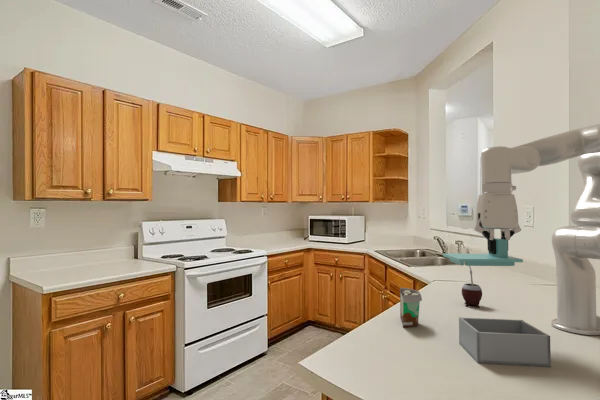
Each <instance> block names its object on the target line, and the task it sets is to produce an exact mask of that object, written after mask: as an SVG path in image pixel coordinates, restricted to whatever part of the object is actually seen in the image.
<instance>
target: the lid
mask: <svg viewBox="0 0 600 400" xmlns="http://www.w3.org/2000/svg"><path fill="white" fill-rule="evenodd" d="M494 240H496V254H490V253H489V252H488V253H443V254H442V257H445V258H447V259H448V260H449V262H451V263H454V264H456V265H460V266H464V264H465V266H467V267H469V266H470V267H515V265H516V264H515V263H524V259H523V258H518V257H513V256H511V255H510V256H509V252H508V251H509V240H506V239H501V238H500V237H499V238H497V237H494Z"/></svg>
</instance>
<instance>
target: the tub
mask: <svg viewBox="0 0 600 400" xmlns="http://www.w3.org/2000/svg"><path fill="white" fill-rule="evenodd" d="M458 333H459V334H458V335H459V336H458V339H459V342H458V344H459V345H460V346H461V347H462V348H463V349H464V351H465V352H467V354H469V356H470V357H472V359H474V361H475V362H476V363H477V364H492V365H505V366H509V365H510V366H523V367H524V366H526V367H527V366H528V367H546V368H551V367H552V366H551V365H552V363H551V362H552V360H551V359H552V358H551V357H552V356H551V355H552V354H551V336H550V335H549V334H548V333H545V332H544V331H542V330H540V329H538V328H536V327H535V326H534V325H532V324H530V323H528V322H526V321H524V320H522V319H510V318H509V319H506V318H505V319H504V318H503V319H502V318H481V317H478V318H477V317H460V316H459V317H458Z"/></svg>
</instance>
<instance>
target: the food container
mask: <svg viewBox="0 0 600 400" xmlns="http://www.w3.org/2000/svg"><path fill="white" fill-rule="evenodd" d="M422 297H423V296H422V294H421V292H420V290H419V291H418V290H416V289H413V288H408V287H400V288H399V298H400V300H399V302H400V305H399V308H400V309H399V310H400V311H399V313H400V314H399V315H400V316H399V319H400V322H401V326H402V328H404V329H405V328H406V329H407V328H408V329H410V328H412V329H413V328H416V327H418V326H419V319H420V318H419V316H420V302H421V301H422V300H423V298H422Z"/></svg>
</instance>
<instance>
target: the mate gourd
mask: <svg viewBox="0 0 600 400" xmlns="http://www.w3.org/2000/svg"><path fill="white" fill-rule="evenodd" d="M471 267H472V266H468V268H469V276H470V283H464V284H463V285H462V287H461V296H462V298H463V300H464V305H465V307H467V308H469V307H474V308H477V309H480V302H481V300H482V299H483V298H482V297H483V290H482V287H481V286H480V285H479V284H476V283H474V282H473V270H472V268H471Z"/></svg>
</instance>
